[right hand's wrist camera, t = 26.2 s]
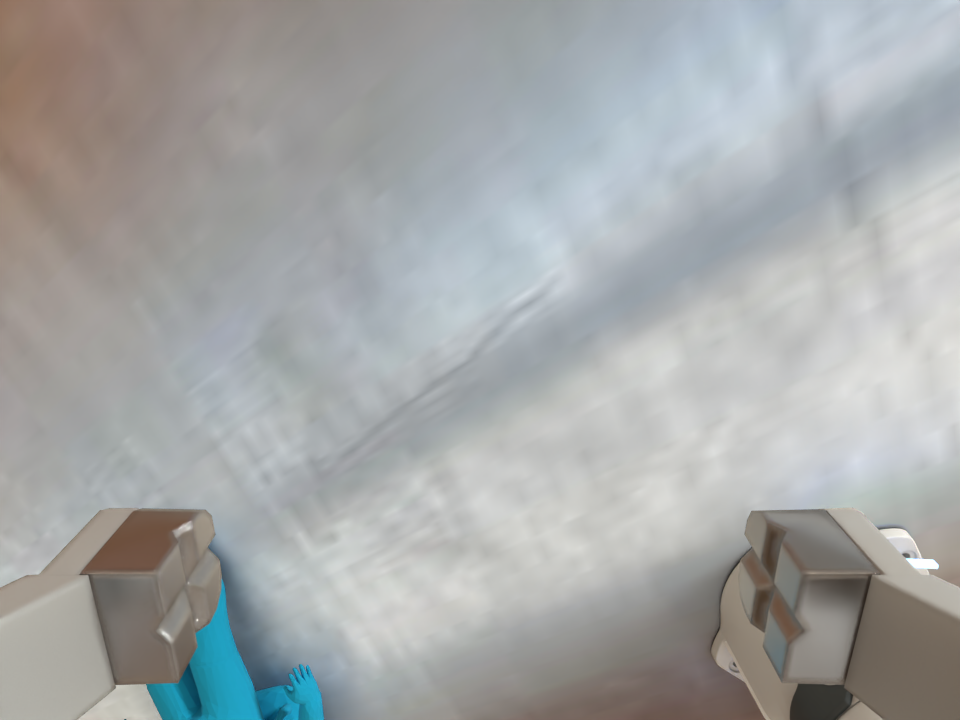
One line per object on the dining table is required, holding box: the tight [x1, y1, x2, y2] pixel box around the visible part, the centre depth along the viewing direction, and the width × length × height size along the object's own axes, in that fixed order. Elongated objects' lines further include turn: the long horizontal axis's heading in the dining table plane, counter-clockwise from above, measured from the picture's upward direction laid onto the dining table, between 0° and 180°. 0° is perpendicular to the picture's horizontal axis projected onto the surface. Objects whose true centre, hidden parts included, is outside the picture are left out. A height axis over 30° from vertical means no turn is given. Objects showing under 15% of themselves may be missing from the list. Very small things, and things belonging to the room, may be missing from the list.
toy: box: [124, 580, 324, 720], centre depth 55 cm, size 17×11×30 cm
